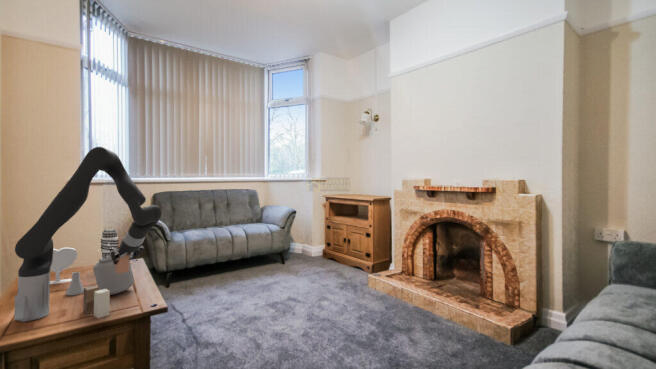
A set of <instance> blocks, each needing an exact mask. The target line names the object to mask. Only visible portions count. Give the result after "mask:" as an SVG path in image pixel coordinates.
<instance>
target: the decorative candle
mask: <svg viewBox="0 0 656 369" xmlns="http://www.w3.org/2000/svg"><path fill="white" fill-rule="evenodd" d="M101 233H102V234H101V238H100V249H101V250H100V252H101V257H100V258H102V257H105V256H108V255H110V249H113V250H114V249H117V248H118V247H119V245H120V243H119V241H120V240H118V238H119V237H118V230H117V229H116V228H107V229H104V230H103V231H101ZM108 244H109V245H108ZM104 249H105V250H104Z"/></svg>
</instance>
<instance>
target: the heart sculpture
mask: <svg viewBox="0 0 656 369" xmlns="http://www.w3.org/2000/svg"><path fill="white" fill-rule="evenodd" d="M77 256H78V252H77V249H76V248H74V247H66V246H65V247H61V248H60V249H56V248H53V260H52V264H51V267H50V272H53V273H55V280H50V285H54V284H55V285H56V284H62V283H69V282H71V280H72V278H66V279H61V272H63V271H64V270H66V269H67V268H69V267H70V266H71V265H73V264H74V262H76V260H77Z"/></svg>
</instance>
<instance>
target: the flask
mask: <svg viewBox="0 0 656 369" xmlns="http://www.w3.org/2000/svg"><path fill="white" fill-rule="evenodd" d="M70 274H71V279H72V280H71V281H70V283H69V286H67V287H68V288H67V290H66V291H65V293H64V294H65V295H66V296H78V295H82V294H84V288H85V287H84V286H83V283H82V281H81V277H80V275H81V272H80V271H75V272H72V273H70Z"/></svg>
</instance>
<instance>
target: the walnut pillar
mask: <svg viewBox="0 0 656 369" xmlns="http://www.w3.org/2000/svg"><path fill="white" fill-rule="evenodd" d="M98 290H99V287H98V286H97V285H90V286H87V287H84V292H83V301H82V302H83V303H82V304H83V306H82V308H83V310H82V312H83V313H85V315H86V314H87V315H89V314H93V313H94V291H98Z"/></svg>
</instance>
